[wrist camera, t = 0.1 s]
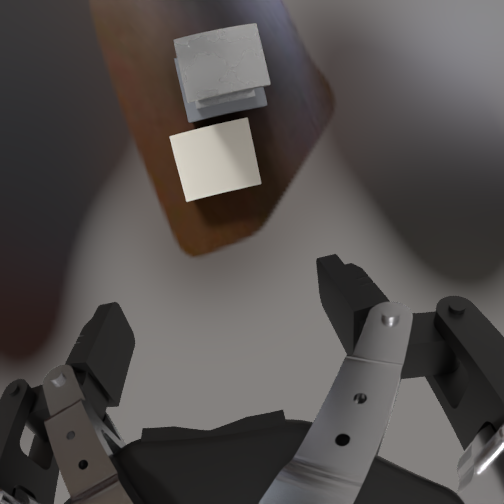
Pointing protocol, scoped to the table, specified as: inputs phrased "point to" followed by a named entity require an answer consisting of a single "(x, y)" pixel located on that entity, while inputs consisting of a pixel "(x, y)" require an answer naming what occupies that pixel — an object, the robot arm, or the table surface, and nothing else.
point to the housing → (222, 65)
